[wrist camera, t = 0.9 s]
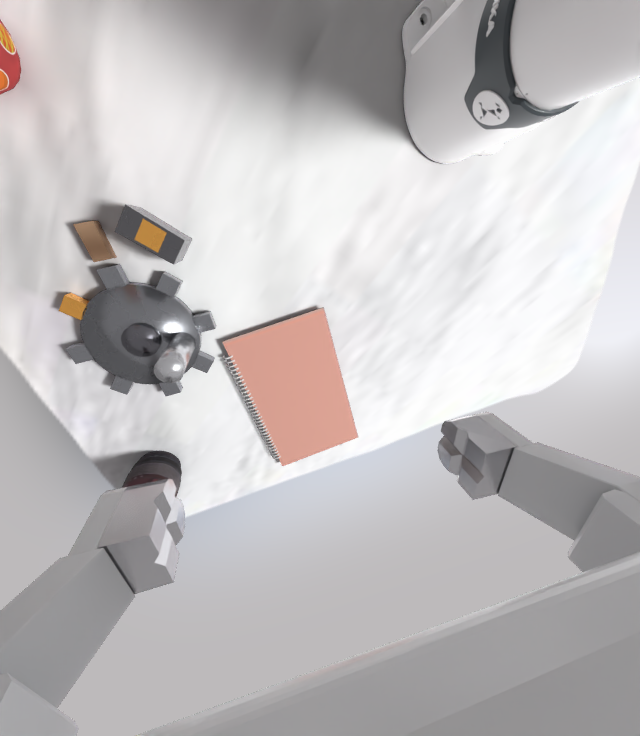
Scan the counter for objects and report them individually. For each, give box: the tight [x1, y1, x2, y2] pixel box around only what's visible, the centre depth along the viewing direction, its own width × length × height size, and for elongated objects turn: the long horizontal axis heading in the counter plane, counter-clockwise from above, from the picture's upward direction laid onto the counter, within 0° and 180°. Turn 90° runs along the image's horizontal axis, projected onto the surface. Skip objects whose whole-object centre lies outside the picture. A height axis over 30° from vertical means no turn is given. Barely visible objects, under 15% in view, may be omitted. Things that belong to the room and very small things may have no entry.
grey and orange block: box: [115, 204, 192, 264], centre depth 32 cm, size 3×6×5 cm, turn 55°
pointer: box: [73, 221, 116, 262], centre depth 33 cm, size 4×2×2 cm, turn 11°
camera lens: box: [122, 451, 182, 497], centre depth 42 cm, size 8×8×15 cm
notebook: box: [222, 307, 358, 466], centre depth 48 cm, size 27×17×2 cm, turn 15°
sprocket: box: [59, 264, 216, 396], centre depth 34 cm, size 18×18×10 cm
